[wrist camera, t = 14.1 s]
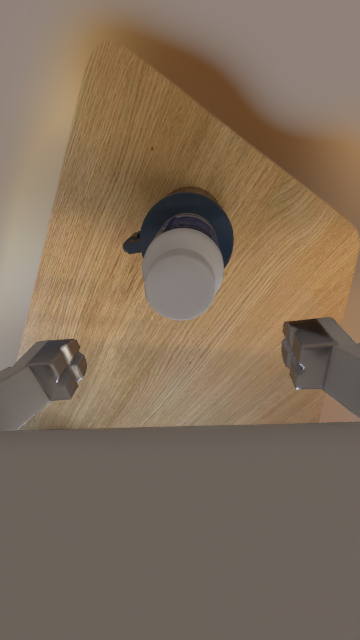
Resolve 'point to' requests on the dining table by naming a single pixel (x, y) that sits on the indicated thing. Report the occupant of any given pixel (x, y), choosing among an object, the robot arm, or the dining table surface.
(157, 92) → the dining table surface
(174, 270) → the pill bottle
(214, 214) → the mug
